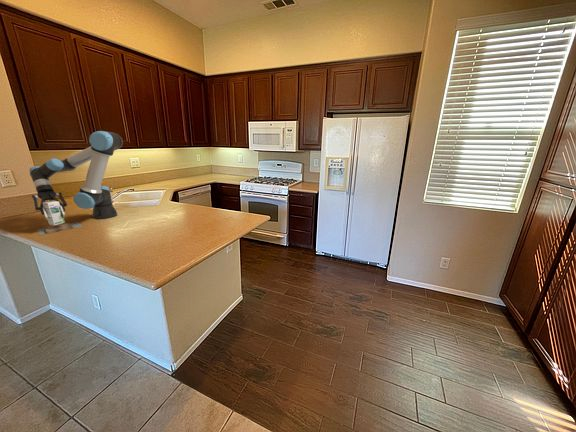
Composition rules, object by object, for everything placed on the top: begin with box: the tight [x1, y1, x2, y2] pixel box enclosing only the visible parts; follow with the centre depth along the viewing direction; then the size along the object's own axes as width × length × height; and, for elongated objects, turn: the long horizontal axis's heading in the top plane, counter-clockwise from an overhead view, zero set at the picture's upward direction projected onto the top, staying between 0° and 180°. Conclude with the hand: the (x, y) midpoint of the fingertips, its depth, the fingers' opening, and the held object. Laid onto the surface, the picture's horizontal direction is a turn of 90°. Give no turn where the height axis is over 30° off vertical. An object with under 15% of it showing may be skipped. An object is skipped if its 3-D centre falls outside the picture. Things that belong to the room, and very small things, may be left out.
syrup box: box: [42, 200, 66, 226], centre depth 149 cm, size 6×6×14 cm
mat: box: [37, 221, 84, 236], centre depth 154 cm, size 20×14×1 cm
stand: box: [43, 222, 74, 234], centre depth 152 cm, size 12×12×1 cm
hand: (55, 216), depth 148 cm, fingers closed on syrup box, 7 cm apart
